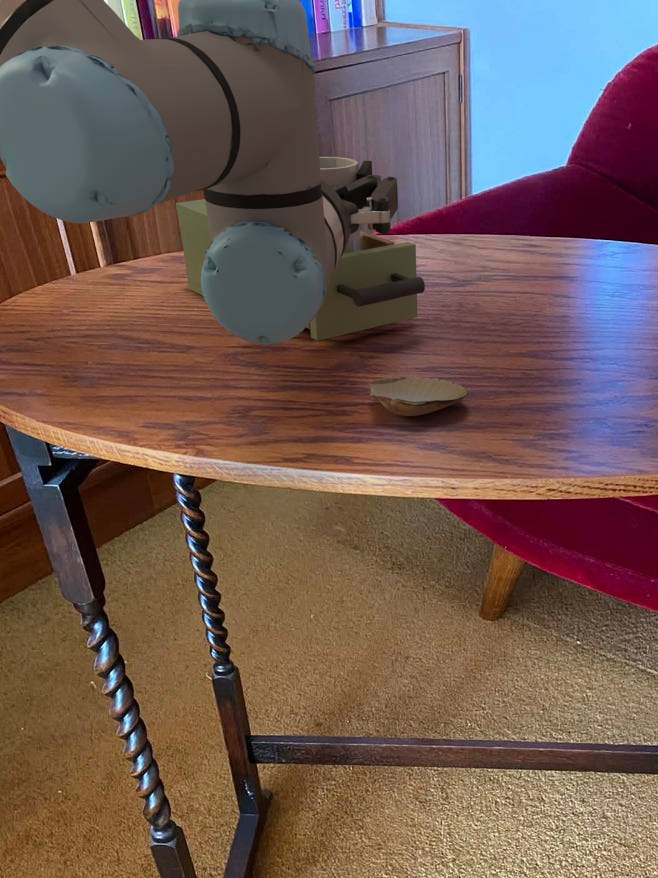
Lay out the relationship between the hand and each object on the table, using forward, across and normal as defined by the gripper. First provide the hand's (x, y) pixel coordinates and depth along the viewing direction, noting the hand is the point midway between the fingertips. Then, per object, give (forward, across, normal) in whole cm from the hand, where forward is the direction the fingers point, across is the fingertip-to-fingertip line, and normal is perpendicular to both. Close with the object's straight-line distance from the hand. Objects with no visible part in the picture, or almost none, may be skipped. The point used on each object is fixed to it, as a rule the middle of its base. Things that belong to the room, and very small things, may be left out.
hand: (332, 176), depth 91 cm
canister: (-5, 0, -6) cm, 8 cm away
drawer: (-6, +1, -11) cm, 13 cm away
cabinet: (+4, -8, -12) cm, 15 cm away
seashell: (-27, +9, -13) cm, 31 cm away
